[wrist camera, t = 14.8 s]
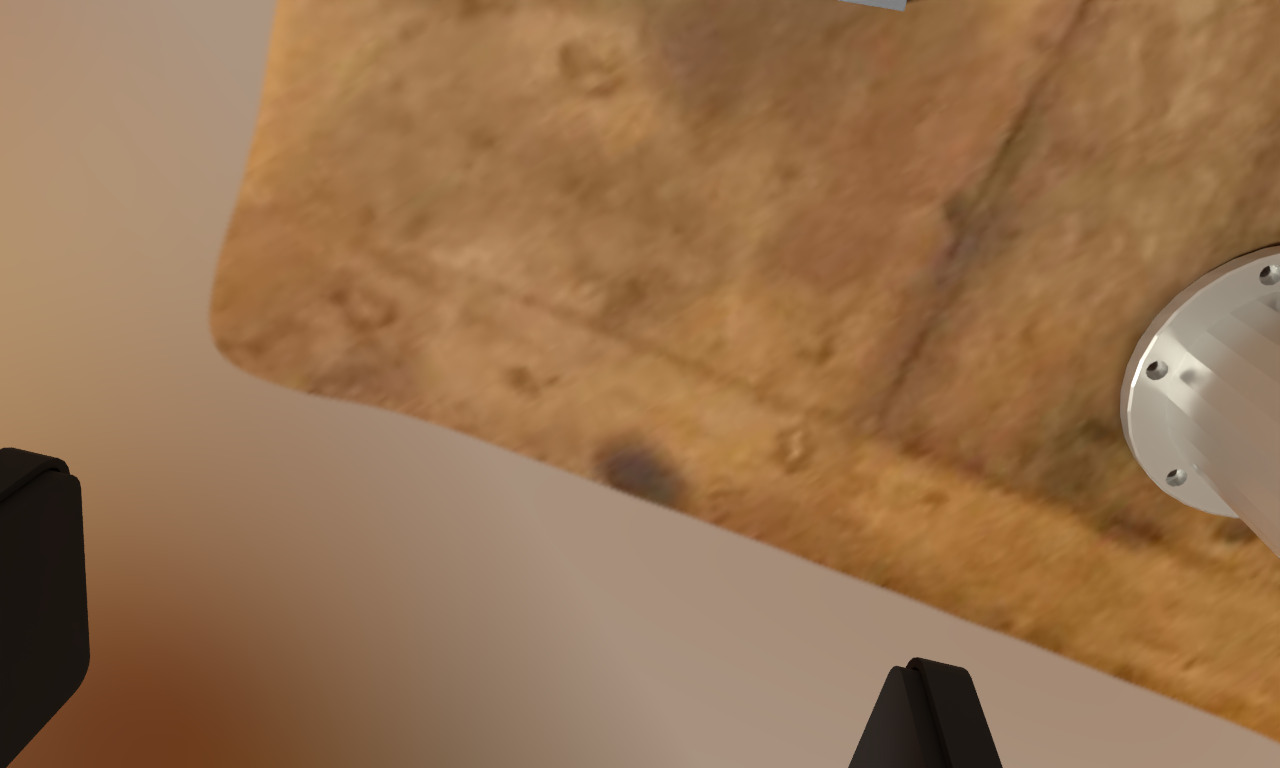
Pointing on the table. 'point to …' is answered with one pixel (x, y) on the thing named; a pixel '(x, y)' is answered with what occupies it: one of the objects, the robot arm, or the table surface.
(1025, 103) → the table surface
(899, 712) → the robot arm
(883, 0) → the grey tray
